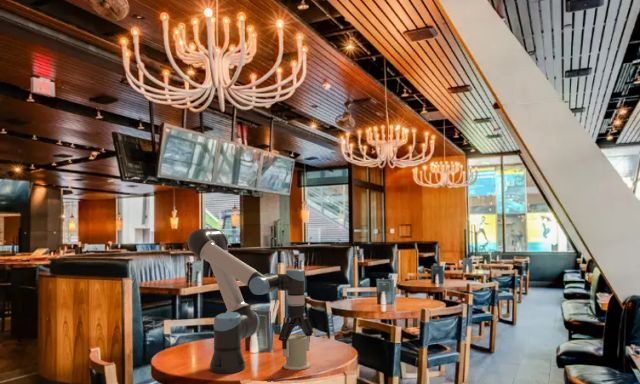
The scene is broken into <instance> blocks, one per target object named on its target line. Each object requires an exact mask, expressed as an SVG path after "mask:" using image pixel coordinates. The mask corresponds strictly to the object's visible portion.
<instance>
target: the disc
mask: <svg viewBox="0 0 640 384" xmlns="http://www.w3.org/2000/svg"><path fill="white" fill-rule="evenodd" d="M282 368H283V369H285V370H288V371H289V370H290V371H302V369H303V370H307V369H309V368H311V362H309V361H307V364H306V365H304V366H299V367H292V366H288V365H286V361H285V362H284V363H282Z"/></svg>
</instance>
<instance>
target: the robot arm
mask: <svg viewBox="0 0 640 384" xmlns="http://www.w3.org/2000/svg"><path fill="white" fill-rule="evenodd" d="M186 244H187V247H188V249H189V251H190V252H191V254H194V255H195V256H197V257H198V258H200V259H201V260H204V262H208V263H209V264H210V267H211V270H212V272H213V275H214V278H215V282H216V284H217V286H218V289H219V291H220V294H221V297H222V299H223V302H224V304H225V305H224V306H225V308H226V309H227V310H226V311H225V312H221V313H219V314H216V316H215V317H214V319H213V326H212V327H213V354H212V355H211V356H212V357H211V360H210V362H209V371H210V372H211V373H215V374H233V373H239V372H242V371H244V370H245V369H246V362H245V358H244V356H243V352H242V340H244V339H246V338H249V337H252V336H253V335H255V334H256V332H258V330H259V328H260V317H259V315H258V314H257V312H256V311H254V310H252V309H251V306H250V304H249V303H246V302H245V300H244V297H243V295H242V292H241V289H240V287H239V284H238V282H239V281H240V283H242V284H244V285H246V286H247V287H248V288H249V290H250V292H251V293H252V294H253V295H256V296H257V295H258V296H259V295H265V294H269V293H271V292H277V291H280V292H281V291H284V292H286V291H287V304H288V305H287V315H288V317H286V316H285V317H283V323H282V326H281V329H280V331H279V332H280V333H279V336H278V341H281V344H282V345H281V348H282V356H283V357H289V341H287V340H288V338H289V336H291V334H292V332H293V329H295V328H296V327H300V328H301V329H300V330H301V331H302V332H303V333H304V335H303V336H306V337H307V342H306V348H307V352H310V342H311V337H312V336H313V334H314V329H313V328H312V324H311V322H310V319H309V314H308V313H305V312H306V311H305V308H306V306H305V305H304V304H305V303H306V301H305V272H304V270H303V269H295V268H294V269H293V268H292V269H288V270H287V272H286V273H272V272H271V273H264V274H262V273H261V272H260V271H257V270H256V269H255V268H253V267H252V266H250V265H248V264H247V263H245V262H243V261H242V260H241V259H239V258H238V257H236V256H234V255H233V254H231V253H230V252H229V249H228V246H229V239H228V236H227V234H226V233H225V232H224V231H223V230H221V229H218V228H213V227H212V228H198V229H195V230H193V231H191V233H190V234H189V235H188V237H187V243H186ZM237 280H238V282H237Z"/></svg>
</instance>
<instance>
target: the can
mask: <svg viewBox="0 0 640 384" xmlns="http://www.w3.org/2000/svg"><path fill="white" fill-rule="evenodd" d="M287 341H289V357H286V359H285V360H286V361H285V362H286V365H288V366H292V367H299V366H304V365H306V364H307V362H308V361H307V355H308V354H307V352H308V351H307V348H306V342H307V337H306V336H304V335H302V334H301V335H299V334H298V335H297V334H295V335H290V336H289V338H288V340H287Z"/></svg>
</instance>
